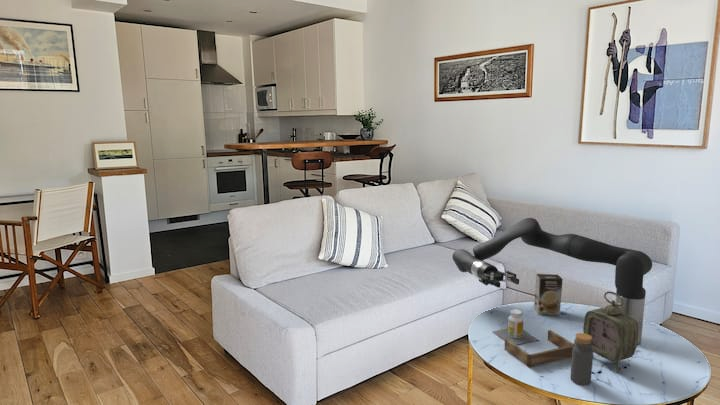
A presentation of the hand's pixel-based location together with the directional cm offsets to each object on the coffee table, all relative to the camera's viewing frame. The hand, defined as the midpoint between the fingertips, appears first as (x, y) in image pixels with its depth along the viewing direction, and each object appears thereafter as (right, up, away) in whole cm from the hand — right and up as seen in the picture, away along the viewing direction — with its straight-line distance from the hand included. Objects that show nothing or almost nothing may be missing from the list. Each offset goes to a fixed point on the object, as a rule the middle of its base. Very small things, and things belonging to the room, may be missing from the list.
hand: (509, 283), depth 177 cm
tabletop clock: (+27, -23, -21) cm, 41 cm away
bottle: (+13, -25, -31) cm, 42 cm away
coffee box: (+22, -16, +20) cm, 34 cm away
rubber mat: (+2, -20, -1) cm, 20 cm away
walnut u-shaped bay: (+6, -22, -13) cm, 26 cm away
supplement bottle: (+2, -20, -1) cm, 20 cm away
